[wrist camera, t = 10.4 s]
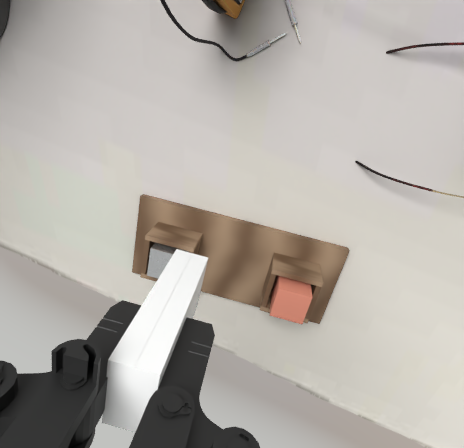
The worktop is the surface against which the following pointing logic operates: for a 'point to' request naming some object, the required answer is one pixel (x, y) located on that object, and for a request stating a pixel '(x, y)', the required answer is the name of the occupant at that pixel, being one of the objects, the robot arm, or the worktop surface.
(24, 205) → the worktop surface
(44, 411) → the robot arm
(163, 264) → the steel plug
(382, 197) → the worktop surface
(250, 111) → the worktop surface
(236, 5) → the multimeter
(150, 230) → the socket panel
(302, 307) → the salmon pink plug
